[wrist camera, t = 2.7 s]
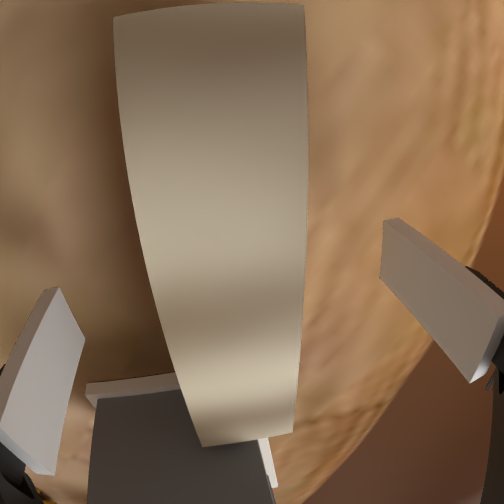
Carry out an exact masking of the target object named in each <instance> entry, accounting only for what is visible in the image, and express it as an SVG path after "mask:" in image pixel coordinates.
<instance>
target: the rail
mask: <svg viewBox="0 0 504 504" xmlns="http://www.w3.org/2000/svg"><path fill="white" fill-rule="evenodd" d="M113 37H114V56H115V71H116V84H117V95H118V105H119V114H120V123H121V131H122V139H123V146H124V153H125V160H126V166H127V173H128V179H129V185H130V190H131V196H132V202H133V207H134V212H135V217H136V222H137V227H138V232H139V237H140V242H141V246H142V251H143V255H144V260H145V264H146V268H147V272H148V277H149V281H150V285H151V289H152V293H153V297H154V300H155V304H156V308H157V312H158V315H159V319H160V322H161V326H162V330H163V333H164V336H165V340H166V343H167V347H168V350H169V353H170V356H171V360H172V363H173V366H174V369H175V372H176V375H177V378H178V381H179V384H180V387H181V390H182V393H183V396H184V399H185V402H186V405H187V408H188V410H189V413H190V416H191V419H192V421H193V424H194V427H195V430H196V432H197V435H198V437H199V440H200V443H201V445H202V447H209V446H217V445H225V444H232V443H238V442H245V441H251V440H256V439H262V438H267V437H272V436H277V435H282V434H287V433H291V432H293V423H294V413H295V403H296V393H297V383H298V372H299V360H300V347H301V334H302V320H303V304H304V286H305V266H306V243H307V211H308V83H307V53H306V31H305V13H304V5H299V4H284V3H257V2H238V3H210V4H196V5H185V6H176V7H167V8H160V9H153V10H147V11H141V12H135V13H130V14H125V15H120V16H115V17H113Z"/></svg>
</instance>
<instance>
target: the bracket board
mask: <svg viewBox="0 0 504 504" xmlns="http://www.w3.org/2000/svg"><path fill="white" fill-rule="evenodd" d="M85 396H86V398H87V399H88V400H89V401H90V403H91V404H92V405H93V406H94V408H95V409H96V413H95V421H94V428H93V436H92V445H91V455H90V466H89V478H88V494H87V504H276V502H275V498H274V494H273V491H272V488H275V487H278V483H277V478H276V474H275V469H274V465H273V460H272V455H271V451H270V446H269V441H268V437H267V438H262V439H256V440H251V441H245V442H238V443H232V444H225V445H217V446H209V447H202V445H201V443H200V440H199V437H198V435H197V432H196V430H195V427H194V424H193V421H192V419H191V416H190V413H189V410H188V408H187V405H186V402H185V399H184V396H183V393H182V390H181V387H180V384H179V381H178V378H177V375H176V372H174V373H167V374H161V375H154V376H147V377H140V378H132V379H124V380H116V381H107V382H97V383H87V385H86V390H85Z"/></svg>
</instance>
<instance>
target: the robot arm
mask: <svg viewBox="0 0 504 504" xmlns="http://www.w3.org/2000/svg"><path fill="white" fill-rule="evenodd" d="M379 278H380V279H381V280H382V281H383V282H384V283H385V284H386V285H387V286H388V288H389V289H390V290H391V291H392V292H393V293H394V294H395V295H396V296H397V297H398V299H399V300H400V301H401V302H402V303H403V304H404V305H405V306H406V308H407V309H408V310H409V311H410V312H411V313H412V314H413V316H414V317H415V318H416V319H417V320H418V321H419V322H420V324H421V325H422V326H423V327H424V328H425V329H426V331H427V332H428V333H429V334H430V335H431V336H432V338H433V339H434V340H435V341H436V342H437V344H438V345H439V346H440V347H441V348H442V349H443V351H444V352H445V353H446V354H447V356H448V357H449V358H450V359H451V360H452V361H453V363H454V364H455V366H456V367H457V368H458V369H459V370H460V372H461V373H462V374H463V376H464V377H465V378H466V379H467V380H468V382H469V383H471V382H473V381H474V380H476V379H478V378H479V377H481V376H483V375H485V373H486V372H487V369H488V367H489V366H490V364H491V362H493V363H494V364H495V366H496V369H495V371H494V372H493V374H492V376H491V378H490V380H489V381H488V383H487V385H486V390H488V389H489V388H490V386H491V384H492V382H493V389H492V391H493V414H492V429H491V440H490V449H489V457H488V464H487V471H486V477H485V482H484V488H483V493H482V498H481V503H480V504H504V292H502V291H501V290H500V289H499V288H498V287H497V288H496V287H495V285H494V284H493V283H492V282H491V281H488V279H487V278H486V277H484V276H483V275H482V274H481V273H480V272H478V271H476V270H474V269H472V268H470V267H467V266H465V267H464V266H463V265H462V264H461V263H459V262H458V261H457V260H455V259H454V258H453V257H452V256H450V255H449V254H448V253H446V252H445V251H444V250H442V249H441V248H440V247H439V246H437V245H436V244H435V243H433V242H432V241H431V240H429V239H428V238H426V237H425V236H424V235H422V234H421V233H420V232H418V231H417V230H415V229H414V228H413V227H411V226H410V225H408V224H407V223H406V222H404V221H403V220H401V219H400V218H394V219H389V220H384V221H383V239H382V254H381V266H380V277H379ZM85 340H86V339H85V337H84V335H83V333H82V332H81V330H80V328H79V326H78V324H77V322H76V320H75V318H74V316H73V314H72V312H71V310H70V308H69V306H68V304H67V302H66V300H65V298H64V296H63V294H62V292H61V290H60V288H59V287H56V288H51V289H46V290H44V291H43V293H42V295H41V296H40V298H39V300H38V302H37V304H36V305H35V307H34V309H33V311H32V313H31V314H30V316H29V318H28V320H27V322H26V324H25V326H24V328H23V330H22V332H21V333H20V335H19V337H18V339H17V341H16V343H15V346H14V348H13V350H12V352H11V354H10V356H9V358H8V360H7V362H6V364H4V365H3V367H2V368H1V369H0V504H44V502H43V501H42V499H41V497H40V495H39V494H38V492H37V490H36V488H35V486H34V484H33V482H32V481H31V479H30V477H29V476H28V475H27V474H26V473H25V472H24V471H25V466H26V465H27V466H28V467H29V468H30V469H31V470H33V471H34V472H35V473H37V474H44V475H53V476H55V469H56V463H57V457H58V451H59V445H60V440H61V435H62V430H63V425H64V420H65V416H66V411H67V407H68V402H69V398H70V394H71V390H72V386H73V382H74V378H75V375H76V371H77V367H78V364H79V360H80V356H81V353H82V350H83V346H84V343H85Z"/></svg>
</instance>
